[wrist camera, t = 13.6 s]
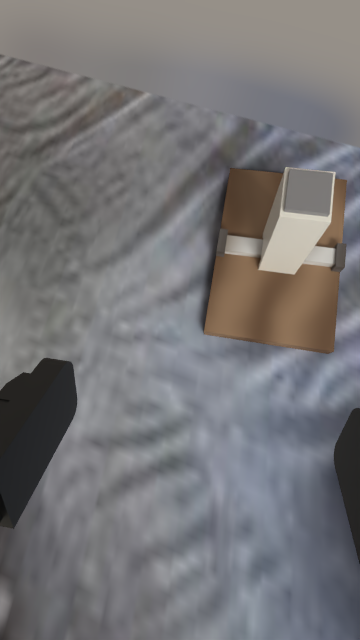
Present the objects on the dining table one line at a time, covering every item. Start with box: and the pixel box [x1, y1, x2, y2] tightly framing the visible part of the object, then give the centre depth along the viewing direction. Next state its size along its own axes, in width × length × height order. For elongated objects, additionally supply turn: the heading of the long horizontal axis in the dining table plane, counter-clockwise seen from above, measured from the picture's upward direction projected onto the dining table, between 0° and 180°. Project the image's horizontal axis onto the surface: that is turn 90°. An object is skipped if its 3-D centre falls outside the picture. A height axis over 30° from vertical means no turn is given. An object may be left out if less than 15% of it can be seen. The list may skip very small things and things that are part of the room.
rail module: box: [258, 167, 335, 275], centre depth 29 cm, size 4×4×10 cm
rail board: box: [204, 168, 347, 354], centre depth 34 cm, size 12×18×3 cm, turn 170°
